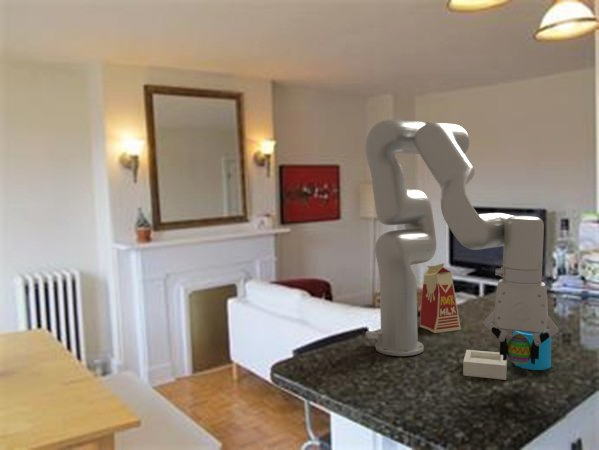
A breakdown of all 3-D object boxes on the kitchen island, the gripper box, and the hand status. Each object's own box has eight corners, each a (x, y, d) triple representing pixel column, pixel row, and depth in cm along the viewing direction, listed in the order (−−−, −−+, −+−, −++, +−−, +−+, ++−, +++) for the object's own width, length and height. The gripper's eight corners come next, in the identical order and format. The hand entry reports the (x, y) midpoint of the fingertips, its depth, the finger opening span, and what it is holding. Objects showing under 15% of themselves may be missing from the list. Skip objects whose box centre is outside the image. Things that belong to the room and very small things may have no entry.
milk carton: (461, 329, 154) (460, 262, 153) (435, 333, 151) (434, 265, 149) (442, 322, 163) (441, 259, 161) (417, 326, 159) (416, 261, 158)
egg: (502, 361, 110) (502, 333, 109) (513, 355, 113) (513, 329, 113) (524, 367, 106) (525, 339, 106) (535, 361, 109) (536, 334, 109)
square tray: (463, 375, 117) (463, 361, 117) (466, 362, 126) (466, 349, 125) (506, 379, 114) (506, 365, 114) (506, 366, 122) (506, 353, 122)
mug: (550, 372, 118) (550, 336, 117) (511, 367, 122) (511, 333, 121) (552, 356, 128) (552, 323, 128) (516, 352, 132) (516, 320, 132)
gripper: (477, 276, 108) (475, 360, 109) (569, 282, 101) (565, 372, 103) (479, 269, 114) (477, 349, 116) (566, 275, 108) (562, 359, 110)
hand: (518, 359), depth 110 cm, fingers closed on egg, 4 cm apart
